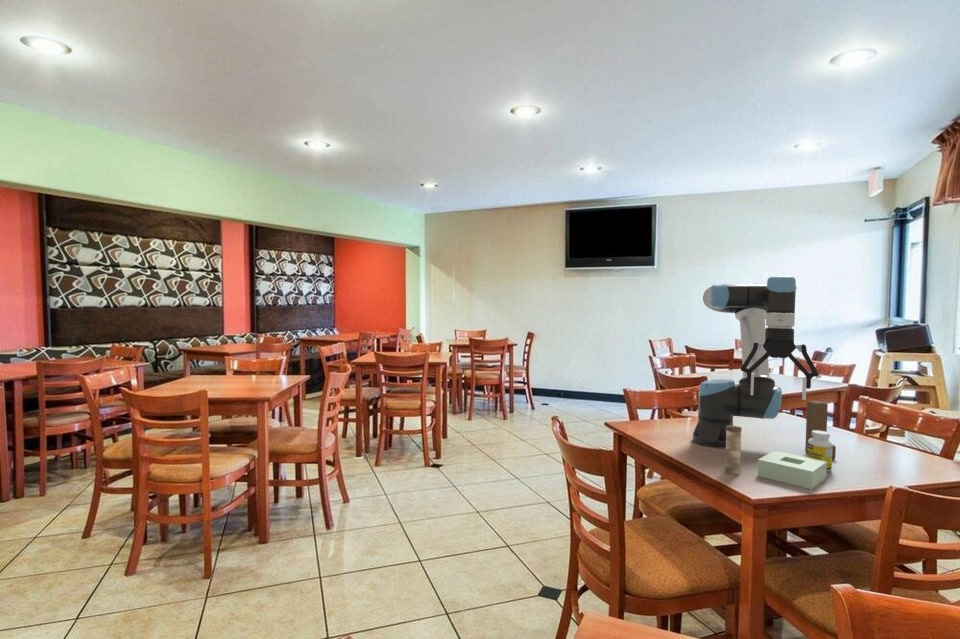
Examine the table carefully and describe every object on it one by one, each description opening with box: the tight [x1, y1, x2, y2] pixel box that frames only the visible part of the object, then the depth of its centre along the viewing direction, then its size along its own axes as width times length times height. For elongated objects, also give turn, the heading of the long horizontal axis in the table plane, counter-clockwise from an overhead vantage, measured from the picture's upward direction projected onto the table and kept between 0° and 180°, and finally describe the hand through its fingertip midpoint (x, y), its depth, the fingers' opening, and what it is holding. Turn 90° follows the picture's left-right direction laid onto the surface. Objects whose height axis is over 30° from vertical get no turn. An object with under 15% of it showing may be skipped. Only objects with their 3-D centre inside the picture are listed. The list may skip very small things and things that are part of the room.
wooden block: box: [804, 400, 837, 460], centre depth 170 cm, size 9×4×18 cm, turn 0°
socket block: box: [757, 450, 827, 490], centre depth 148 cm, size 14×14×5 cm
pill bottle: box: [806, 430, 834, 472], centre depth 156 cm, size 6×6×12 cm
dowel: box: [724, 425, 743, 476], centre depth 150 cm, size 4×4×14 cm
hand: (777, 397), depth 151 cm, fingers open, 13 cm apart
